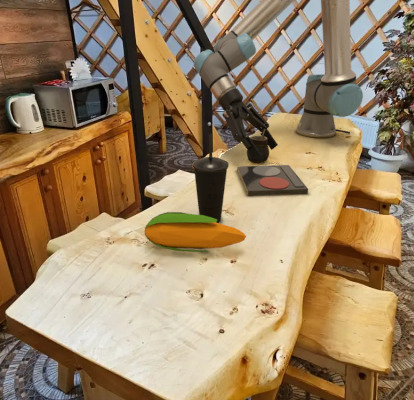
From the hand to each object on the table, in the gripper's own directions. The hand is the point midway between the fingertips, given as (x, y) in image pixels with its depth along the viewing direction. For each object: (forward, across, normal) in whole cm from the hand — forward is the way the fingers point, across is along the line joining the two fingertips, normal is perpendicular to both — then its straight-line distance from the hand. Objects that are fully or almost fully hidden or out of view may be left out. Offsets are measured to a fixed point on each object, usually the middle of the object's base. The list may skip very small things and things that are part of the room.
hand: (266, 151), depth 116 cm
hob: (+9, +12, +3) cm, 16 cm away
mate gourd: (+1, 0, -5) cm, 5 cm away
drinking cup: (+10, +40, +4) cm, 42 cm away
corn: (+13, +51, +7) cm, 53 cm away
